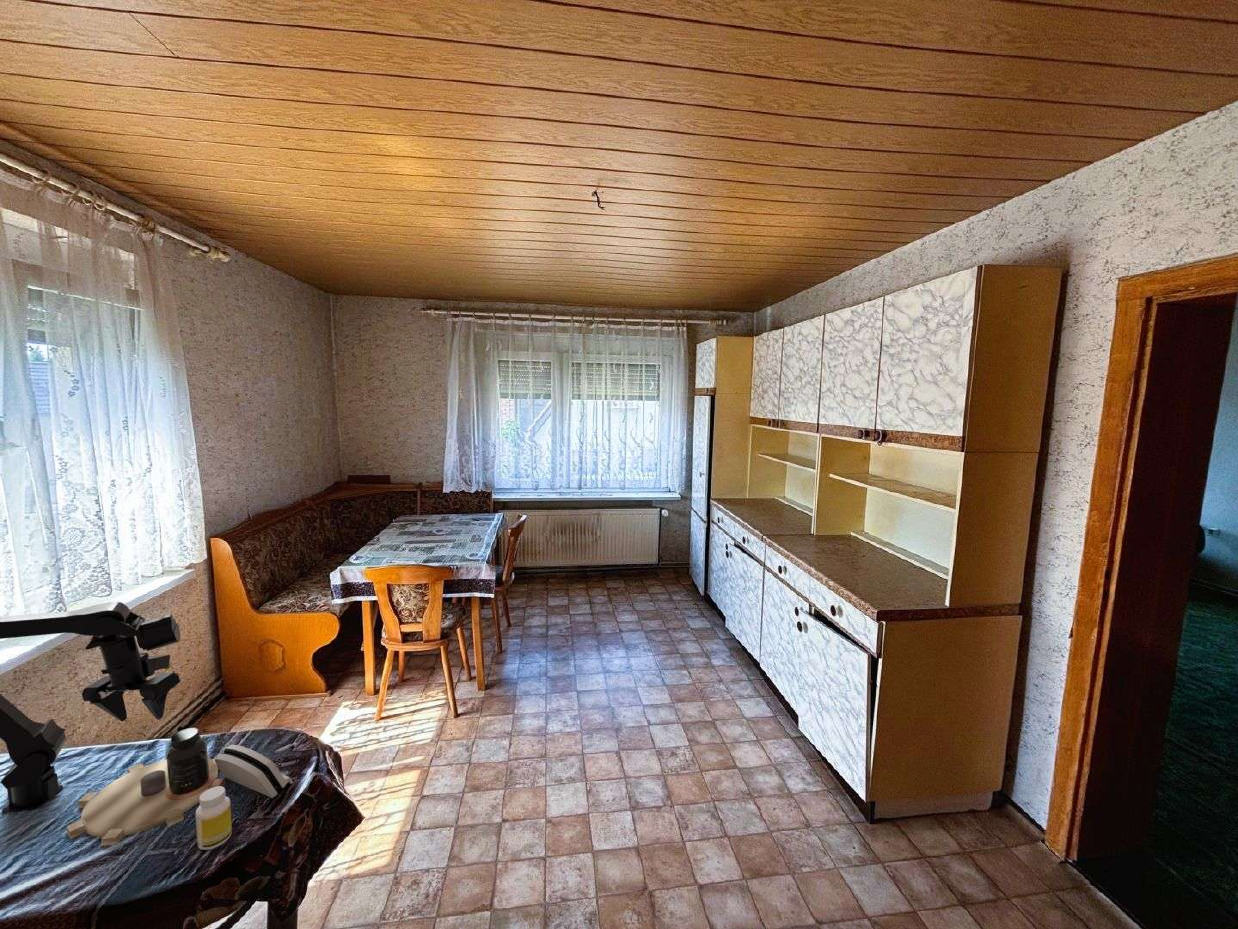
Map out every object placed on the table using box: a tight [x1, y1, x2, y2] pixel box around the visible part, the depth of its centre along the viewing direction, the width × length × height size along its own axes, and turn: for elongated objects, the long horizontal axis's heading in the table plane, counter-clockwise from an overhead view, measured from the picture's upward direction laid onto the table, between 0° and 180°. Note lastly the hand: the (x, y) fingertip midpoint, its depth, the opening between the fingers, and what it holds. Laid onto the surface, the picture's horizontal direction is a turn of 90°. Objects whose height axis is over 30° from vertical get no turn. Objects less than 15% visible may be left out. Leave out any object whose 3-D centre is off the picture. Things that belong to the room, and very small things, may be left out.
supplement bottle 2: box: [195, 786, 233, 851], centre depth 101 cm, size 5×5×10 cm
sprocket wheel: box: [66, 757, 226, 847], centre depth 113 cm, size 26×26×4 cm
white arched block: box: [214, 744, 294, 799], centre depth 117 cm, size 17×5×10 cm, turn 68°
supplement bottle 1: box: [165, 727, 209, 795], centre depth 113 cm, size 7×7×12 cm
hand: (142, 719), depth 119 cm, fingers open, 9 cm apart
